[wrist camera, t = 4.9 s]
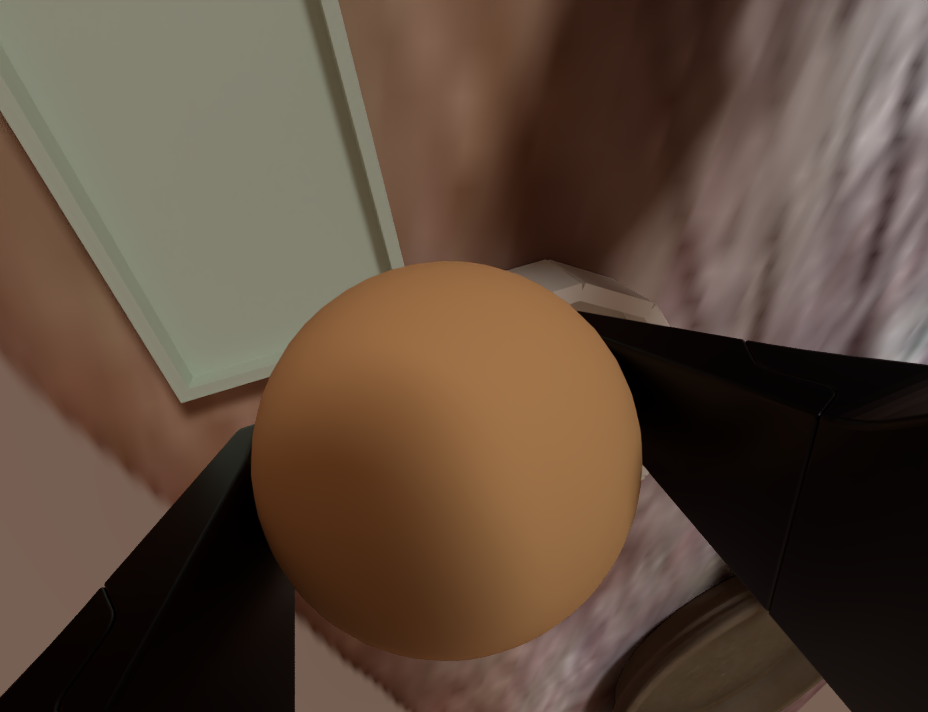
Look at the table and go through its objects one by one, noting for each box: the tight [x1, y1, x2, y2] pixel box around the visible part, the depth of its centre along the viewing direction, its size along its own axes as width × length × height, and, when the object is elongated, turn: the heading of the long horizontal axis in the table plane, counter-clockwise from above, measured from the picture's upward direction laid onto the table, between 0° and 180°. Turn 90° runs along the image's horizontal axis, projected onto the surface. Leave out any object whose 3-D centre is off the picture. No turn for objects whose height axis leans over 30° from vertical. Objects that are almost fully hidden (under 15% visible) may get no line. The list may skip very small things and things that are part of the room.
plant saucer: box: [613, 576, 823, 712], centre depth 50 cm, size 31×31×5 cm
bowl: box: [506, 259, 670, 481], centre depth 25 cm, size 16×16×4 cm
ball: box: [251, 261, 642, 661], centre depth 8 cm, size 6×6×6 cm
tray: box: [0, 0, 405, 403], centre depth 15 cm, size 10×22×2 cm, turn 10°
